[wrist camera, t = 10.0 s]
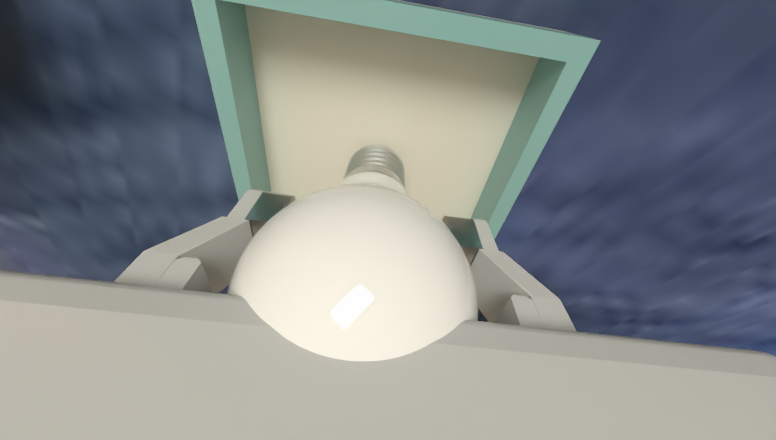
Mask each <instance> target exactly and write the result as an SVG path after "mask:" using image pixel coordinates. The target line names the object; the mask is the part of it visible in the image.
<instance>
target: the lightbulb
mask: <svg viewBox="0 0 776 440" xmlns="http://www.w3.org/2000/svg"><path fill="white" fill-rule="evenodd" d="M227 294H230V295H238V296H241V297H243V298H244V299H245V300H246V301H247V302H248V304H249V305H250V307H251V308H252V309H253V310H254V312H255V313H256V314H257V315H258V316H259V317H260V318H261V319H262V320H263V321H265V322H266V323H267V324H268V325H270V326H271V327H272V328H273V329H275V330H276V331H277V332H278V333H279V334H281V335H282V336H283V337H284V338H286V339H288V340H289V341H291V342H292V343H294V344H296V345H298V346H299V347H302V348H304V349H306V350H308V351H311V352H313V353H316V354H319V355H322V356H326V357H330V358H334V359H340V360H347V361H380V360H387V359H392V358H397V357H401V356H404V355H407V354H410V353H412V352H415V351H417V350H419V349H421V348H423V347H425V346H427V345H429V344H430V343H432V342H434V341H436V340H438V339H440V338H442V337H444V336H445V335H447V334H448V333H449V332H451V331H452V330H453V329H454V328H455V327H457V326H458V325H459V324H460V323H461V322H463V321H465V320H473V321H478V298H477V290H476V285H475V280H474V276H473V273H472V270H471V267H470V264H469V262H468V259H467V257H466V255H465V253H464V251H463V249H462V247H461V245H460V244H459V242H458V240H457V239H456V237H455V236H454V235H453V233H452V232H451V231H450V229H449V228H448V227H447V226H446V225H445V224H444V222H443V221H442V220H441V219H440V218H439V217H438V216H436V215H435V214H434V213H433V212H432V211H431V210H429V209H428V208H427V207H425V206H424V205H422V204H421V203H419V202H418V201H416V200H415V199H413V198H411V197H410V196H409V194H408V193H407V191H406V190H405V169H404V164H403V162H402V160H401V158H400V157H399V156H398V154H397V153H396V152H394V151H393V150H391V149H390V148H387V147H385V146H381V145H369V146H365V147H363V148H361V149H359V150H358V151H356V152H355V153H354V154H353V156H352V157H351V159H350V161H349V164H348V167H347V170H346V174H345V177H344V179H343V180H342V181H341V182H340V183H339V184H338V185H337V186H333V187H328V188H325V189H321V190H318V191H315V192H312V193H310V194H307V195H305V196H303V197H301V198H299V199H297V200H295V201H293V202H292V203H290V204H288V205H287V206H285V207H284V208H282V209H281V210H280V211H278V212H277V213H276V214H275V215H273V216H272V217H271V218H270V219H269V220H268V221H267V222H266V223H265V224H264V225H263V226H262V227H261V228H260V229H259V230H258V232H257V233H256V234H255V235H254V237H253V238H252V239H251V241H250V242H249V243H248V245H247V246H246V248H245V250H244V251H243V253H242V255H241V257H240V259H239V261H238V263H237V265H236V267H235V270H234V272H233V275H232V278H231V281H230V284H229V288H228V293H227Z"/></svg>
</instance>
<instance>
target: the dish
mask: <svg viewBox="0 0 776 440" xmlns="http://www.w3.org/2000/svg"><path fill="white" fill-rule="evenodd" d="M191 1H192V5H193V9H194V13H195V18H196V22H197V26H198V30H199V35H200V39H201V43H202V47H203V52H204V56H205V60H206V64H207V69H208V73H209V77H210V81H211V86H212V90H213V94H214V98H215V103H216V107H217V111H218V115H219V119H220V124H221V128H222V132H223V136H224V141H225V145H226V149H227V153H228V158H229V162H230V166H231V170H232V175H233V179H234V183H235V187H236V192H237V196H238V200H240V199H241V198H242V196H243V195H244V194H245V192H246V191H247V190H249V189H255V190H262V191H269V192H276V193H282V194H289V195H294V196H295V197H296V200H297V199H299V198H301V197H303V196H305V195H307V194H310V193H312V192H315V191H318V190H321V189H325V188H328V187H333V186H337V185H338V184H339V183H340V182H341V181H342V180H343V179H344V177H345V174H346V170H347V167H348V164H349V161H350V159H351V157H352V156H353V154H354V153H355V152H356V151H358V150H359V149H361V148H363V147H365V146H369V145H381V146H385V147H387V148H390V149H391V150H393V151H394V152H396V153H397V154H398V156H399V157H400V158H401V160H402V162H403V164H404V169H405V190H406V191H407V193H408V194H409V196H410V197H411V198H413V199H415V200H416V201H418V202H419V203H421V204H422V205H424V206H425V207H427V208H428V209H429V210H431V211H432V212H433V213H434V214H435V215H436V216H438V217H439V218H440V219H441V220H442V219H443V217H444V216H452V217H460V218H468V219H481V220H486V221H487V223H488V225H489V228H490V230H491V233H492V235H493V238H494V240H495V238H496V236H497V234H498V232H499V230H500V228H501V226H502V225H503V223H504V221H505V219H506V217H507V215H508V213H509V212H510V210H511V208H512V206H513V204H514V202H515V200H516V198H517V197H518V195H519V193H520V191H521V189H522V187H523V185H524V183H525V182H526V180H527V178H528V176H529V174H530V172H531V170H532V168H533V167H534V165H535V163H536V161H537V159H538V157H539V155H540V153H541V152H542V150H543V148H544V146H545V144H546V142H547V140H548V138H549V137H550V135H551V133H552V131H553V129H554V127H555V125H556V123H557V122H558V120H559V118H560V116H561V114H562V112H563V110H564V108H565V107H566V105H567V103H568V101H569V99H570V97H571V95H572V93H573V92H574V90H575V88H576V86H577V84H578V82H579V80H580V78H581V77H582V75H583V73H584V71H585V69H586V67H587V65H588V63H589V62H590V60H591V58H592V56H593V54H594V52H595V50H596V49H597V47H598V45H599V43H600V40H596V39H592V38H589V37H585V36H581V35H577V34H573V33H569V32H565V31H561V30H555V29H550V28H545V27H539V26H534V25H529V24H523V23H518V22H513V21H507V20H502V19H497V18H491V17H486V16H481V15H475V14H470V13H465V12H459V11H454V10H448V9H443V8H438V7H432V6H427V5H422V4H416V3H411V2H406V1H400V0H191Z"/></svg>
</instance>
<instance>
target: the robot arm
mask: <svg viewBox="0 0 776 440" xmlns="http://www.w3.org/2000/svg"><path fill="white" fill-rule="evenodd" d="M295 200H296V197H295V196H294V195H289V194H282V193H276V192H269V191H262V190H255V189H249V190H247V191H246V192H245V194H244V195H243V196H242V198H241V199H240V200H239V202H238V203H237V204H236V206H235V207H234V208H233V210H232V211H231V212H230V214H229V215H228V216H227V217H220V218H218V219H216V220H213V221H211V222H209V223H206V224H204V225H202V226H200V227H197V228H195V229H193V230H191V231H188V232H186V233H184V234H181V235H179V236H177V237H175V238H172V239H170V240H168V241H165V242H163V243H161V244H159V245H156V246H154V247H152V248H150V249H147V250H145V251H143V252H142V253H141V254H140V255H139V256H138V257H137V259H136V260H135V261H134V262H133V263H132V264H131V265H130V266H129V267H128V268H127V269H126V270H125V271H124V272H123V273H122V274H121V275H120V276H119V277H118V278H117V279H116V280H115V281H114V282H107V281H98V280H88V279H79V278H70V277H60V276H51V275H41V274H32V273H23V272H13V271H4V270H0V440H776V356H774V355H771V354H768V353H765V352H761V351H755V350H748V349H738V348H728V347H718V346H709V345H699V344H690V343H680V342H671V341H662V340H652V339H643V338H633V337H624V336H615V335H605V334H596V333H586V332H577V331H576V329H575V327H574V326H573V324H572V322H571V320H570V318H569V316H568V314H567V312H566V310H565V308H564V306H563V304H562V303H561V301H560V299H559V298H558V297H557V296H555V295H554V294H553V293H552V292H551V291H549V290H548V289H547V288H546V287H545V286H543V285H542V284H541V283H540V282H539V281H537V280H536V279H535V278H534V277H533V276H531V275H530V274H529V273H528V272H527V271H525V270H524V269H523V268H522V267H521V266H519V265H518V264H517V263H516V262H515V261H513V260H512V259H511V258H510V257H509V256H507V255H506V254H505V253H504V252H501V251H499V250H498V248H497V245H496V243H495V240H494V238H493V235H492V233H491V230H490V228H489V225H488V223H487V221H486V220H481V219H468V218H460V217H452V216H444V217H443V219H442V221H443V222H444V224H445V225H446V226H447V227H448V228H449V229H450V231H451V232H452V233H453V235H454V236H455V237H456V239H457V240H458V242H459V244H460V245H461V247H462V249H463V251H464V253H465V255H466V257H467V259H468V262H469V264H470V267H471V270H472V273H473V276H474V280H475V285H476V290H477V298H478V308H479V310H480V311H481V312H482V314H483V315H484V316H485V317H486V319H487V320H488V321H489V322H483V321H473V320H465V321H463V322H461V323H460V324H459V325H458V326H457V327H455V328H454V329H453V330H452V331H451V332H449V333H448V334H447V335H445V336H444V337H442V338H440V339H438V340H436V341H434V342H432V343H430V344H429V345H427V346H425V347H423V348H421V349H419V350H417V351H415V352H412V353H410V354H407V355H404V356H401V357H397V358H392V359H387V360H380V361H347V360H340V359H334V358H330V357H326V356H322V355H319V354H316V353H313V352H311V351H308V350H306V349H304V348H302V347H299V346H298V345H296V344H294V343H292V342H291V341H289V340H288V339H286V338H284V337H283V336H282V335H281V334H279V333H278V332H277V331H276V330H275V329H273V328H272V327H271V326H270V325H268V324H267V323H266V322H265V321H263V320H262V319H261V318H260V317H259V316H258V315H257V314H256V313H255V312H254V310H253V309H252V308H251V307H250V305H249V304H248V302H247V301H246V300H245V299H244V298H243V297H241V296H238V295H230V294H220V293H219V292H220V291H221V290H222V289H224V288H225V287H226V286H228V285H229V284H230V281H231V278H232V275H233V272H234V270H235V267H236V265H237V263H238V261H239V259H240V257H241V255H242V253H243V251H244V250H245V248H246V246H247V245H248V243H249V242H250V241H251V239H252V238H253V237H254V235H255V234H256V233H257V232H258V230H259V229H260V228H261V227H262V226H263V225H264V224H265V223H266V222H267V221H268V220H269V219H270V218H271V217H272V216H273V215H275V214H276V213H277V212H278V211H280V210H281V209H282V208H284V207H285V206H287V205H288V204H290V203H292V202H293V201H295Z"/></svg>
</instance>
